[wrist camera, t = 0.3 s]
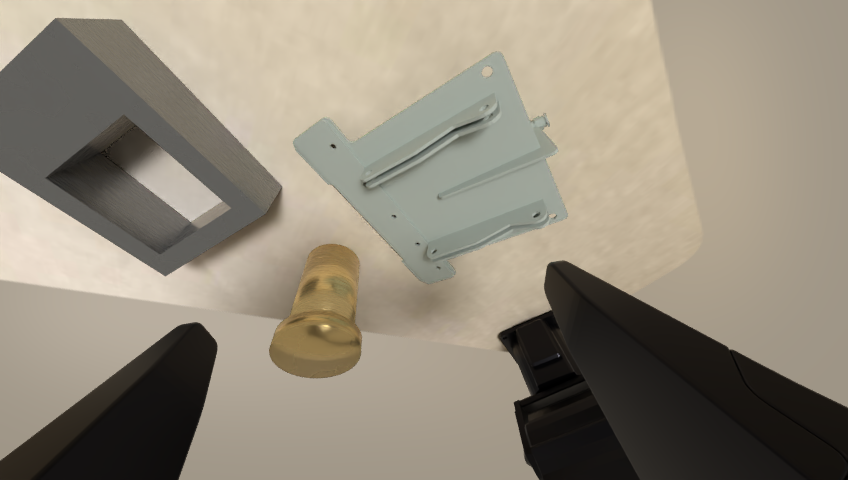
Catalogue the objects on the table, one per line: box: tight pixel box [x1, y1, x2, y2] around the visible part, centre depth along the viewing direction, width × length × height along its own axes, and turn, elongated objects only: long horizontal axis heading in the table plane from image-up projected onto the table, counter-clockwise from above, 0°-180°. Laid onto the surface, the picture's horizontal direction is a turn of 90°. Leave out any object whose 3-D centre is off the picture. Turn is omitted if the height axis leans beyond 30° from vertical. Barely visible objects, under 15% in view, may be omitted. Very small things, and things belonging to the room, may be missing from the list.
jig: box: [0, 18, 282, 276], centre depth 16 cm, size 10×8×4 cm
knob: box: [269, 244, 362, 378], centre depth 20 cm, size 5×5×8 cm
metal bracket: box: [293, 51, 568, 284], centre depth 20 cm, size 14×6×15 cm
